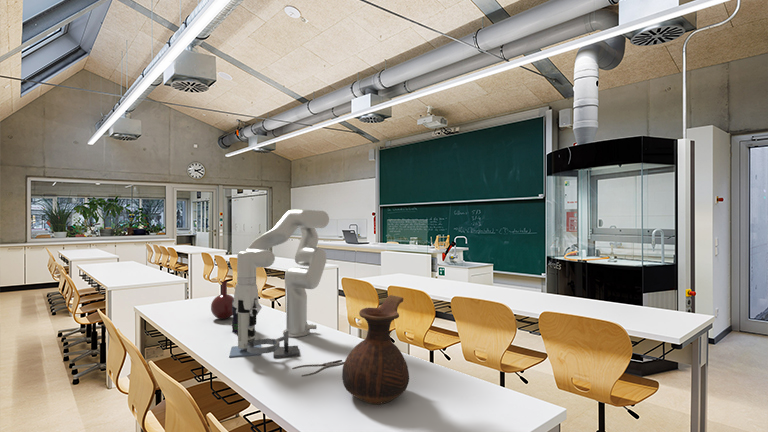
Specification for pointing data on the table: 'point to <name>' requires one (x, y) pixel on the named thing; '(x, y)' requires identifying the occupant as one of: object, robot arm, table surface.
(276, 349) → the ring stand
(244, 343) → the spray can
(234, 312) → the storage jar
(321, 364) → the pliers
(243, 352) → the mat
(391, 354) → the jug
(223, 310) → the round-bottom flask
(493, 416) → the table surface
